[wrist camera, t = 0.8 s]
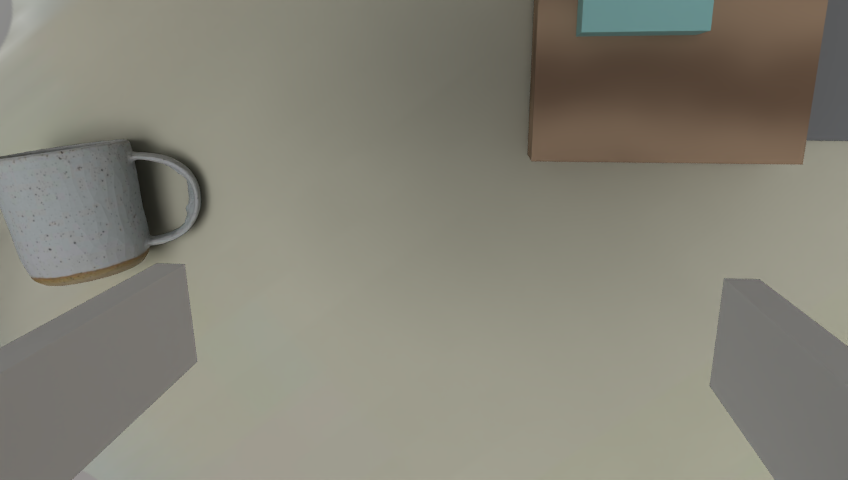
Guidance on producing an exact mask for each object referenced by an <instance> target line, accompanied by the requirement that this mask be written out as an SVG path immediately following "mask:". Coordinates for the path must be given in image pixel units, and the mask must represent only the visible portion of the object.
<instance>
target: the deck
mask: <svg viewBox="0 0 848 480" xmlns="http://www.w3.org/2000/svg"><path fill="white" fill-rule="evenodd" d="M827 5H828V0H714V6H713V14H712V23H711V31H708V32H704V33H701V34H698V35H655V36H578V37H576V27H577V10H578V0H534V14H533V38H532V62H531V86H530V110H529V133H528V156H529V158H530V159H531V161H555V162H640V163H724V164H803V158H804V152H805V146H806V139H807V133H808V126H809V120H810V114H811V107H812V101H813V94H814V88H815V82H816V75H817V69H818V62H819V56H820V50H821V43H822V37H823V30H824V24H825V18H826V11H827Z"/></svg>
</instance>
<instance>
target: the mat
mask: <svg viewBox="0 0 848 480" xmlns="http://www.w3.org/2000/svg"><path fill="white" fill-rule="evenodd" d="M806 140H825V141H848V0H828V5H827V11H826V18H825V24H824V30H823V37H822V43H821V50H820V56H819V62H818V69H817V75H816V82H815V88H814V94H813V101H812V107H811V114H810V120H809V126H808V133H807V139H806Z"/></svg>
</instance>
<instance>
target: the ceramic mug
mask: <svg viewBox="0 0 848 480" xmlns="http://www.w3.org/2000/svg"><path fill="white" fill-rule="evenodd" d="M137 159H138V160H147V161H153V162H157V163H162V164H165V165H167V166H169V167H171V168H172V169H174V170H175V171H177V172H178V173H179V174H181V175H182V176H183V177H185V178H186V179H187V184H188V192H189V204H188V205H187V207H186V211H187V217H186V220H185V223H184V224H183V225H182V226H181V227H180V228H178V229H175V230H173V231H172V232H169V233H165V234H162V235H157V236H151V235H149V229H148V225H147V219H146V216H145V213H144V209H143V205H142V200H141V194H140V188H139V182H138V176H137V170H136V167H135V160H137ZM200 207H201V193H200V188H199V185H198V182H197V179H196V178H195V176H194V175H193V173H192V172H191V171H190V170H189V168H188V167H186V166H185V165H184V164H182V163H181V162H179V161H177V160H176V159H173V158H171V157H168V156H165V155H161V154H156V153H147V152H134V151H132V148H131V145H130V142H129V141H128V140H125V139H123V140H122V139H121V140H112V141H100V142H93V143H83V144H76V145H70V146H62V147H55V148H48V149H40V150H36V151H29V152H24V153H17V154H12V155H7V156H1V157H0V208H1V210H2V213H3V216H4V218H5V221H6V223H7V226H8V228H9V231H10V233H11V236H12V239H13V242H14V245H15V247H16V250H17V253H18V255H19V258H20V260H21V262H22V264H23V265H24V267H25V269H26V270H27V272H28V273H29V275H30V276H31V278H32V279H33V280H34V281H36V282H38V283H41V284H44V285H47V286H64V285H71V284H77V283H83V282H88V281H93V280H96V279H100V278H104V277H108V276H111V275H114V274H118V273H120V272H123V271H125V270H128V269H130V268H132V267H134V266H136V265H138V264H139V263H141V262H142V261H143V260H144V259H145V257H146V255H147V254H148V252H149V247H150V246H151V245H158V244H164V243H166V242H169V241H172V240H174V239H176V238H178V237H180V236H181V235H183V234H184V233H186V232H187V231H188V230H189V229H190V228H191V227H192V225H193V224H194V222H195V220H196V219H197V216H198V214H199V211H200Z"/></svg>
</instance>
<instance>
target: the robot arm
mask: <svg viewBox="0 0 848 480" xmlns="http://www.w3.org/2000/svg"><path fill="white" fill-rule="evenodd" d="M196 362H197V354H196V347H195V339H194V331H193V324H192V316H191V308H190V301H189V293H188V285H187V278H186V270H185V264H164V263H156V264H155V265H153V266H151V267H149V268H147V269H145V270H144V271H142V272H140V273H138V274H136V275H134V276H132V277H131V278H129V279H127V280H125V281H123V282H121V283H119V284H118V285H116V286H114V287H112V288H110V289H108V290H107V291H105V292H103V293H101V294H99V295H97V296H95V297H94V298H92V299H90V300H88V301H86V302H84V303H82V304H81V305H79V306H77V307H75V308H73V309H71V310H70V311H68V312H66V313H64V314H62V315H60V316H58V317H57V318H55V319H53V320H51V321H49V322H47V323H45V324H44V325H42V326H40V327H38V328H36V329H34V330H33V331H31V332H29V333H27V334H25V335H23V336H21V337H20V338H18V339H16V340H14V341H12V342H10V343H8V344H7V345H5V346H3V347H1V348H0V480H72V479H73V478H74V477H75V476H76V475H77V474H78V473H80V472H81V471H82V470H83V469H84V468H85V467H86V466H87V465H88V464H89V463H90V462H91V461H92V460H93V459H94V458H95V457H97V456H98V455H99V454H100V453H101V452H102V451H103V450H104V449H105V448H106V447H107V446H108V445H109V444H110V443H111V442H112V441H113V440H115V439H116V438H117V437H118V436H119V435H120V434H121V433H122V432H123V431H124V430H125V429H126V428H127V427H128V426H129V425H130V424H132V423H133V422H134V421H135V420H136V419H137V418H138V417H139V416H140V415H141V414H142V413H143V412H144V411H145V410H146V409H147V408H149V407H150V406H151V405H152V404H153V403H154V402H155V401H156V400H157V399H158V398H159V397H160V396H161V395H162V394H163V393H164V392H166V391H167V390H168V389H169V388H170V387H171V386H172V385H173V384H174V383H175V382H176V381H177V380H178V379H179V378H180V377H181V376H183V375H184V374H185V373H186V372H187V371H188V370H189V369H190V368H191V367H192V366H193V365H194V364H195V363H196ZM710 387H711V389H712V390H713V392H714V393H715V394H716V396H717V397H718V399H719V400H720V402H721V403H722V404H723V406H724V407H725V409H726V410H727V412H728V413H729V415H730V416H731V417H732V419H733V420H734V422H735V423H736V425H737V426H738V427H739V429H740V430H741V432H742V433H743V435H744V436H745V438H746V439H747V440H748V442H749V443H750V445H751V446H752V448H753V449H754V451H755V452H756V453H757V455H758V456H759V458H760V459H761V461H762V462H763V463H764V465H765V466H766V468H767V469H768V471H769V472H770V474H771V475H772V476H773V478H774V479H775V480H848V346H847V345H845V344H844V343H843V342H841V341H840V340H839V339H837V338H836V337H835V336H833V335H832V334H831V333H830V332H828V331H827V330H826V329H824V328H823V327H822V326H820V325H819V324H818V323H816V322H815V321H814V320H812V319H811V318H810V317H808V316H807V315H806V314H805V313H803V312H802V311H801V310H799V309H798V308H797V307H795V306H794V305H793V304H791V303H790V302H789V301H787V300H786V299H785V298H783V297H782V296H781V295H780V294H778V293H777V292H776V291H774V290H773V289H772V288H770V287H769V286H768V285H766V284H765V283H764V282H762V281H761V280H760V279H732V278H724V282H723V290H722V297H721V305H720V312H719V319H718V327H717V334H716V342H715V349H714V357H713V364H712V372H711V379H710Z"/></svg>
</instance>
